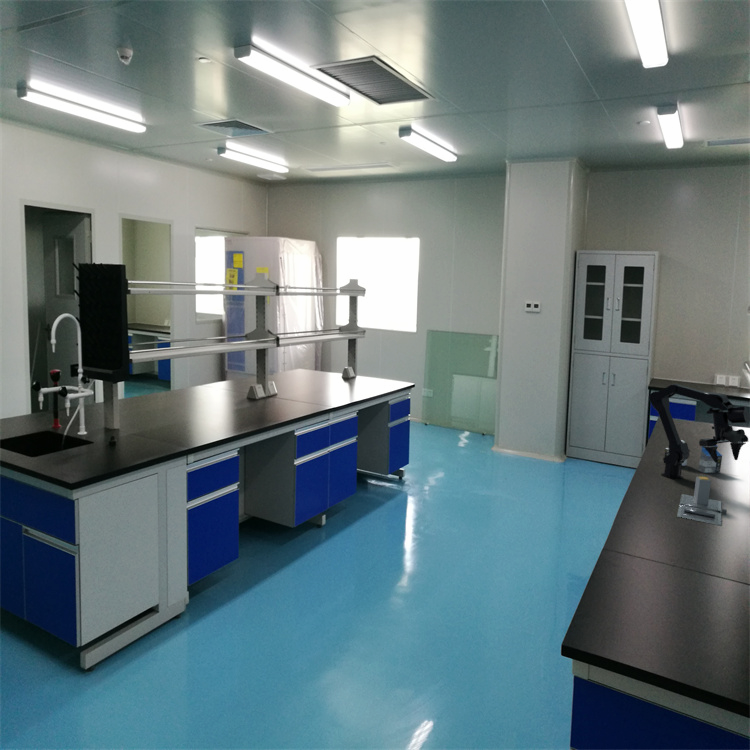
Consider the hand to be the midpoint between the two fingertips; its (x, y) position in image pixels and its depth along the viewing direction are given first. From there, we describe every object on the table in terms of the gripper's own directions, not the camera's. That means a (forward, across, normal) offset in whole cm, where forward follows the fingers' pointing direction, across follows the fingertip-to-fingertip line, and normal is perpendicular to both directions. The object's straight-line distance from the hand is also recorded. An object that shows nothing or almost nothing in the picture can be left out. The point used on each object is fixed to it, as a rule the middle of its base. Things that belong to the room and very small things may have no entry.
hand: (726, 461), depth 253 cm
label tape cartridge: (+9, +12, +27) cm, 31 cm away
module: (+12, -23, -12) cm, 29 cm away
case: (+14, -27, -18) cm, 35 cm away
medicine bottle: (+5, +3, +39) cm, 40 cm away
